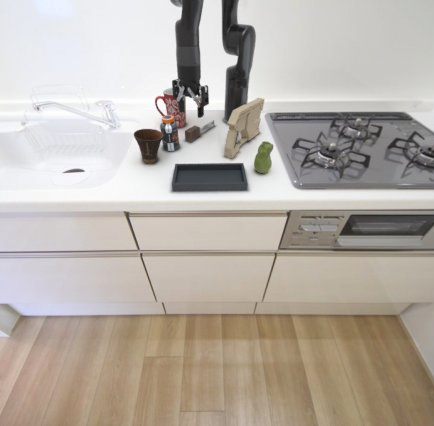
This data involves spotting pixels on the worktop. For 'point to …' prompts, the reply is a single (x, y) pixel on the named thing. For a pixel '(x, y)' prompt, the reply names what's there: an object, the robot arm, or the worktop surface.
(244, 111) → the gun
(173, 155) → the worktop surface
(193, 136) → the knife
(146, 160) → the cup
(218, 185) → the dark grey tray
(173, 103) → the mug
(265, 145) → the pear
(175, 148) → the pill bottle
